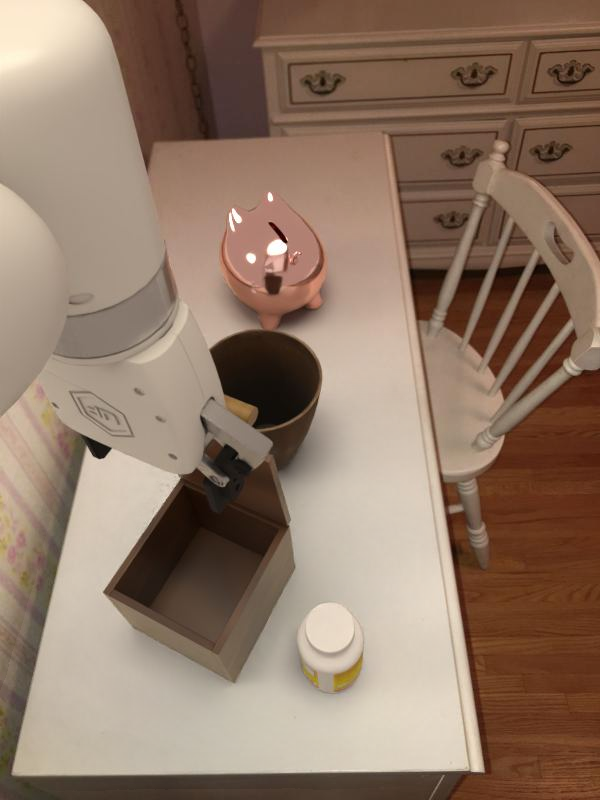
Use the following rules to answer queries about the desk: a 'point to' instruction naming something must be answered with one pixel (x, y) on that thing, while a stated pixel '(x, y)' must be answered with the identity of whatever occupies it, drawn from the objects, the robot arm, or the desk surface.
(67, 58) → the robot arm
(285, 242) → the piggy bank
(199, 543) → the chest
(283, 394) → the flower pot
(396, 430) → the desk surface
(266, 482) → the brown wooden box lid
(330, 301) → the desk surface
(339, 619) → the supplement bottle
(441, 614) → the desk surface
